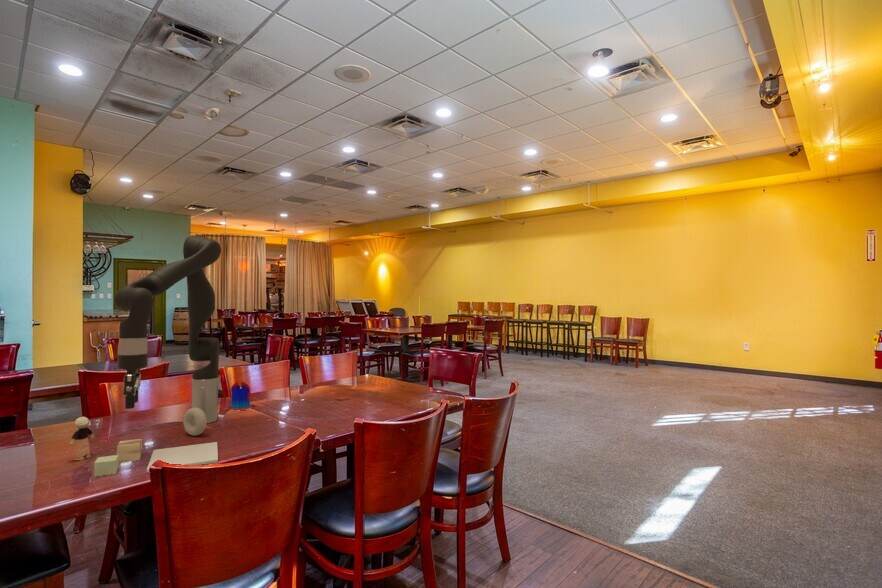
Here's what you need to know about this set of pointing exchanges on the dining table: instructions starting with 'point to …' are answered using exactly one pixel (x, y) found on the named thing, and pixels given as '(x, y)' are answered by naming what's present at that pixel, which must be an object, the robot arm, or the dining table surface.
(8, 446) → the dining table surface
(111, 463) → the sage block
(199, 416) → the donut
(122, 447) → the birch block
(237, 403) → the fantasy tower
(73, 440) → the grandmother figurine
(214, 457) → the base plate
